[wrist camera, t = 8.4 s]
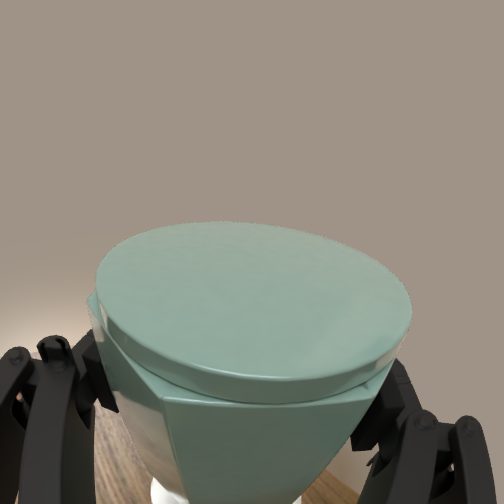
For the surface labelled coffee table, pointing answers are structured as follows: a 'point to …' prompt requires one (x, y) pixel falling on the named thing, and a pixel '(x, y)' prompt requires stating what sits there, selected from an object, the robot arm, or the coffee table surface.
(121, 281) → the jar
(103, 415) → the coffee table surface
